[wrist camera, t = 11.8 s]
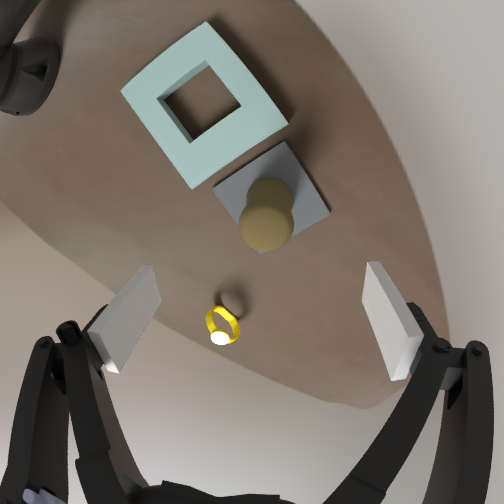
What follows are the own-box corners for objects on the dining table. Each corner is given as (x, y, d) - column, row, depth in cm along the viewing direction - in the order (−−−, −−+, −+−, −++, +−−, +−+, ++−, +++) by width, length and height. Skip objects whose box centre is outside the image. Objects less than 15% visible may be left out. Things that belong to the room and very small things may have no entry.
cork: (250, 172, 33) (237, 190, 23) (298, 182, 33) (307, 205, 23) (242, 217, 35) (227, 253, 26) (287, 227, 35) (290, 267, 25)
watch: (245, 319, 44) (242, 345, 38) (233, 327, 45) (229, 353, 39) (217, 297, 42) (211, 323, 36) (206, 306, 43) (198, 332, 37)
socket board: (129, 92, 30) (120, 90, 27) (210, 27, 25) (206, 21, 23) (197, 185, 35) (191, 189, 32) (287, 124, 30) (288, 123, 28)
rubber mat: (212, 188, 35) (211, 189, 34) (284, 140, 31) (284, 140, 31) (260, 253, 38) (260, 255, 37) (329, 213, 35) (330, 214, 34)
